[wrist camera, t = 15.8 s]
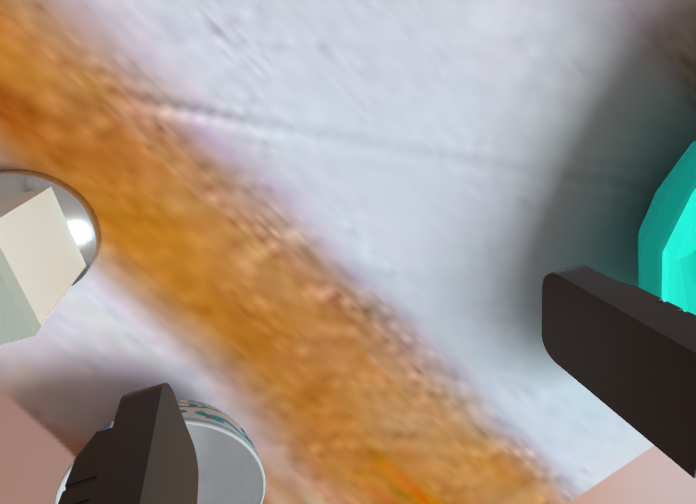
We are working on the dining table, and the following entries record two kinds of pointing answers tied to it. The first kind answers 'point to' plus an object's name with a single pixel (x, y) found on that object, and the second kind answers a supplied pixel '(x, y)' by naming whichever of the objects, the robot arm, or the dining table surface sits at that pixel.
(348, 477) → the dining table surface
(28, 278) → the pale green block
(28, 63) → the dining table surface
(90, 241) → the grey post on dish
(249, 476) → the chinaware
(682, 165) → the table top decor
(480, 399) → the dining table surface
